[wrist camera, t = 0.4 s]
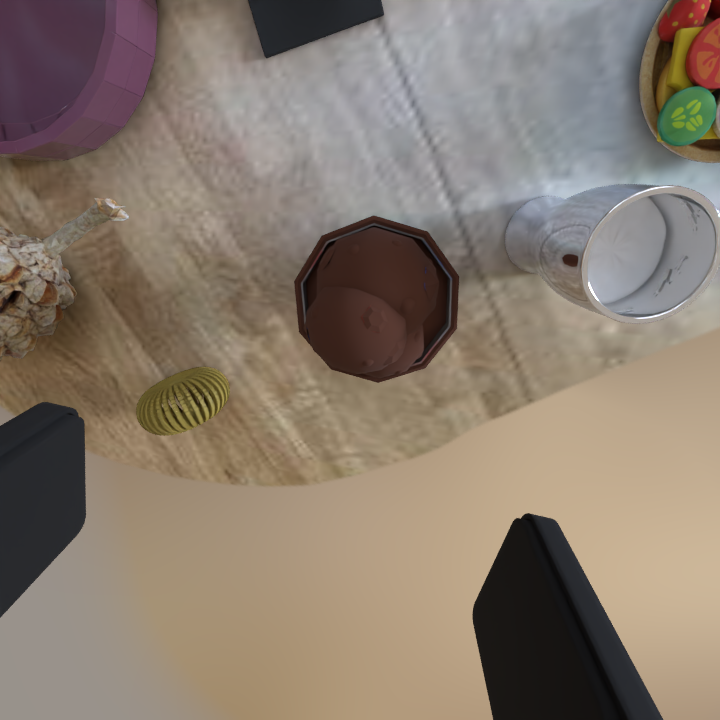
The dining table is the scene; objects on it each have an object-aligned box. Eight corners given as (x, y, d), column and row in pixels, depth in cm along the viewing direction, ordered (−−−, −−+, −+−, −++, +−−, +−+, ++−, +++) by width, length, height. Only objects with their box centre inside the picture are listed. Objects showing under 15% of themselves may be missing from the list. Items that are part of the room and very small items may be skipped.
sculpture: (230, 351, 39) (194, 386, 32) (248, 388, 40) (217, 430, 33) (158, 374, 40) (106, 413, 33) (177, 409, 42) (131, 454, 34)
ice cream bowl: (420, 352, 38) (439, 439, 24) (303, 319, 38) (254, 387, 24) (461, 237, 34) (512, 261, 20) (331, 198, 34) (293, 195, 20)
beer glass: (597, 194, 33) (756, 187, 19) (573, 282, 35) (697, 334, 21) (509, 185, 33) (601, 173, 19) (491, 274, 35) (560, 320, 21)
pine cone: (32, 368, 41) (-71, 417, 32) (-49, 290, 39) (-186, 318, 29) (187, 234, 36) (118, 245, 26) (104, 132, 33) (-5, 105, 24)
